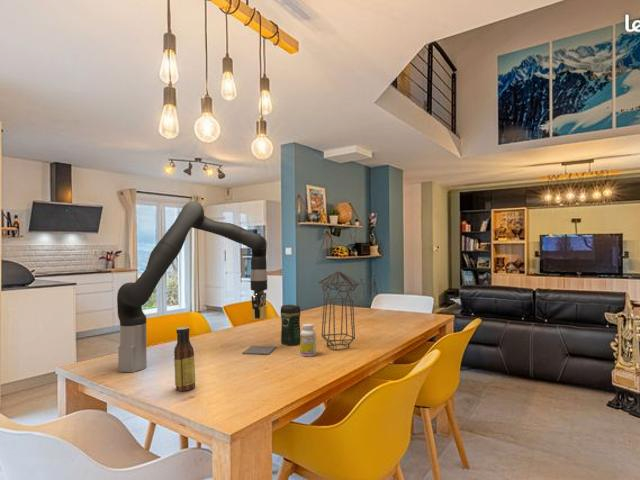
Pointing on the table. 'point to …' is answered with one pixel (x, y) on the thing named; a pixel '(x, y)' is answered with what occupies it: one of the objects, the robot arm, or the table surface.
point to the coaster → (259, 350)
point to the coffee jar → (290, 325)
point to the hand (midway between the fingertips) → (259, 317)
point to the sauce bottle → (184, 361)
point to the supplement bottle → (308, 340)
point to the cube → (262, 313)
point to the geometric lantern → (342, 306)
